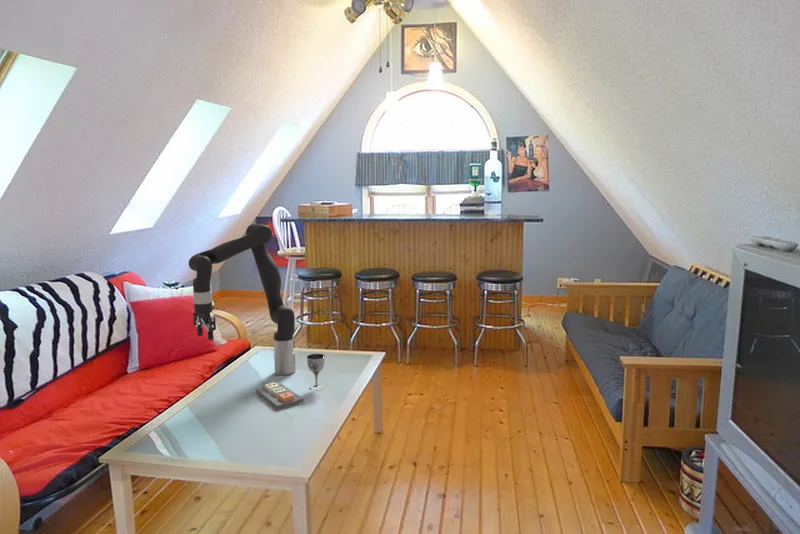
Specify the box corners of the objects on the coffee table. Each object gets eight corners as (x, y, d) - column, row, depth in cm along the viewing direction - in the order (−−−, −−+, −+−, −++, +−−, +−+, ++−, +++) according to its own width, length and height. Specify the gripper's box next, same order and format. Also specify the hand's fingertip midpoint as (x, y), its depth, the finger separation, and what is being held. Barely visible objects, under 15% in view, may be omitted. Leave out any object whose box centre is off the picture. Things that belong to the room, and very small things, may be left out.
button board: (280, 387, 255) (280, 383, 254) (303, 403, 237) (303, 398, 237) (256, 393, 247) (255, 389, 247) (277, 410, 230) (277, 405, 230)
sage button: (281, 392, 245) (281, 386, 245) (286, 395, 242) (286, 389, 241) (271, 394, 243) (271, 389, 242) (276, 398, 239) (276, 392, 238)
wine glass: (304, 389, 252) (303, 357, 250) (313, 383, 260) (312, 352, 257) (319, 392, 249) (319, 360, 247) (328, 385, 257) (327, 354, 254)
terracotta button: (288, 397, 240) (288, 391, 240) (294, 400, 236) (293, 394, 236) (278, 399, 237) (278, 394, 237) (283, 403, 233) (283, 397, 233)
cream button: (275, 387, 251) (274, 381, 250) (279, 390, 247) (279, 385, 247) (265, 389, 248) (264, 384, 248) (269, 393, 244) (269, 387, 244)
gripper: (219, 302, 236) (222, 338, 239) (202, 297, 245) (204, 332, 248) (203, 305, 231) (206, 343, 234) (186, 300, 240) (188, 336, 243)
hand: (205, 337), depth 241 cm, fingers open, 8 cm apart
